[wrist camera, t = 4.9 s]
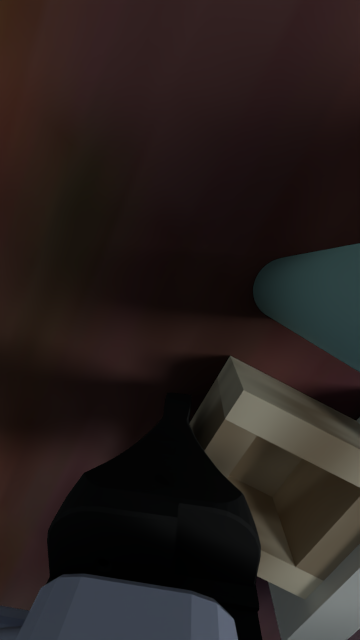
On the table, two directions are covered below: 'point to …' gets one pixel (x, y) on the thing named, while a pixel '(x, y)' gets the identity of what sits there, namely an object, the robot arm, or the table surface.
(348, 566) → the wall
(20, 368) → the table surface
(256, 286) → the dowel
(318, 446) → the beige hollow square block
